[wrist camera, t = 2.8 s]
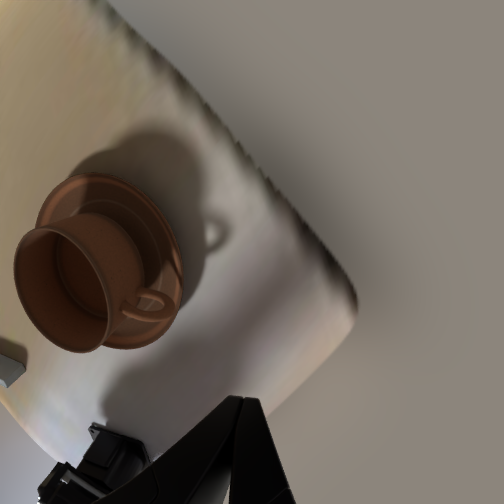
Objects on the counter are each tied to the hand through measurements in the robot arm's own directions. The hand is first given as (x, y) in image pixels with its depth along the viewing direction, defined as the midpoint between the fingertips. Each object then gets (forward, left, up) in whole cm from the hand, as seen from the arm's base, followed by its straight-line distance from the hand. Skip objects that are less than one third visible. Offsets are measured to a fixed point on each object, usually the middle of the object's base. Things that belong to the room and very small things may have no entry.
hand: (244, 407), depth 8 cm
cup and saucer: (0, +11, -12) cm, 16 cm away
